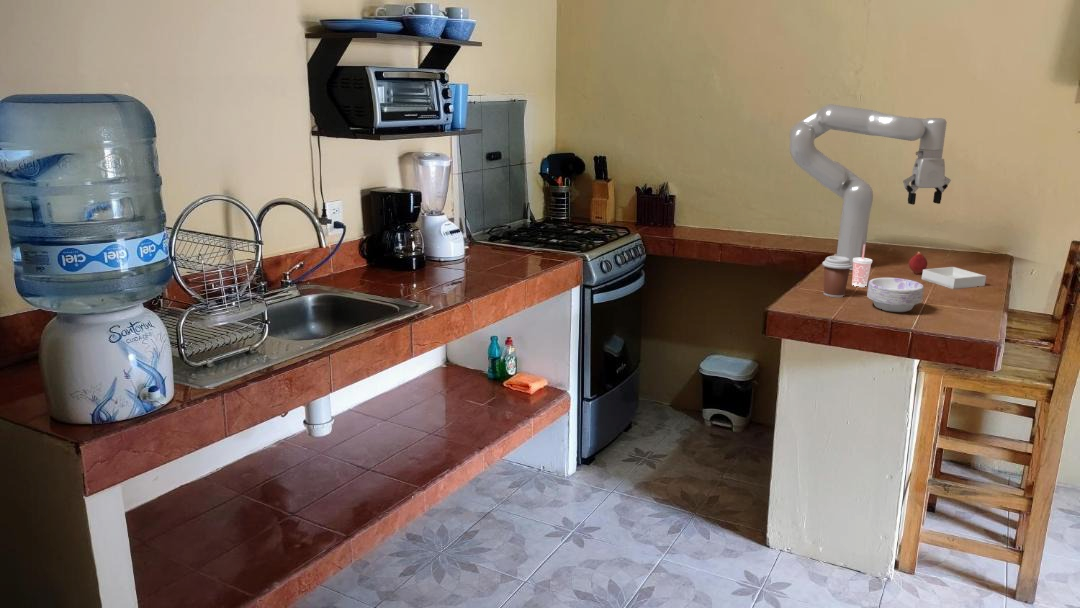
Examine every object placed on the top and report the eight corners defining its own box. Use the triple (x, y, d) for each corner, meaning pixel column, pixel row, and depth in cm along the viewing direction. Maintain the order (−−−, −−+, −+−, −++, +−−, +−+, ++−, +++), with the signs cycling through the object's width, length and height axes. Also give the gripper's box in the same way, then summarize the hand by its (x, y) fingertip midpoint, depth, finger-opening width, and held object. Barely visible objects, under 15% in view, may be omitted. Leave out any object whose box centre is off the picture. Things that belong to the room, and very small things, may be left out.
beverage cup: (845, 284, 261) (850, 243, 257) (859, 282, 264) (864, 242, 260) (859, 288, 256) (864, 247, 252) (873, 286, 258) (878, 245, 254)
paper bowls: (855, 306, 236) (858, 281, 234) (883, 298, 244) (887, 274, 242) (902, 318, 224) (906, 292, 222) (930, 310, 233) (934, 284, 230)
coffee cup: (845, 300, 242) (850, 262, 239) (815, 295, 247) (819, 259, 244) (851, 293, 250) (856, 257, 246) (822, 289, 254) (826, 253, 251)
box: (953, 289, 256) (954, 278, 255) (921, 279, 268) (922, 269, 267) (984, 285, 260) (986, 275, 259) (952, 276, 273) (953, 266, 272)
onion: (924, 272, 277) (927, 251, 275) (926, 276, 272) (929, 254, 270) (906, 271, 279) (909, 249, 277) (908, 275, 274) (911, 253, 272)
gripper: (913, 156, 264) (907, 206, 269) (960, 155, 266) (953, 204, 271) (900, 154, 271) (895, 202, 276) (946, 153, 273) (939, 201, 278)
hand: (924, 203), depth 273 cm, fingers open, 9 cm apart
